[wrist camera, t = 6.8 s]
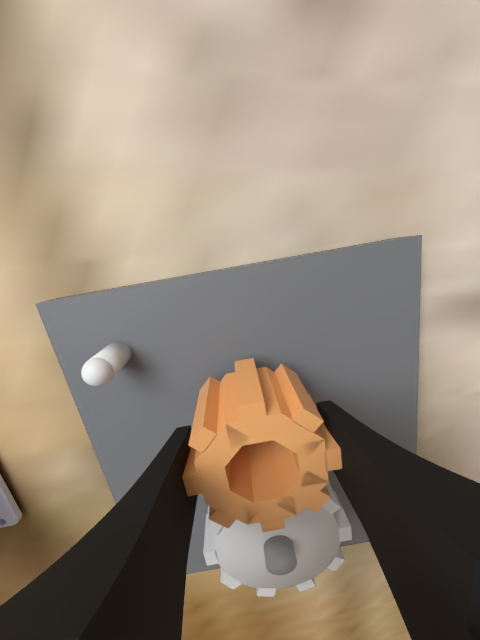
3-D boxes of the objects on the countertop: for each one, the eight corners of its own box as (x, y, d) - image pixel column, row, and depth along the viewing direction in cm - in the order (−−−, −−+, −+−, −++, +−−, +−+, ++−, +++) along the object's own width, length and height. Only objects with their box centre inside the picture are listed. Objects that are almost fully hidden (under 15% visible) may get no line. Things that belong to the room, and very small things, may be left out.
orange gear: (208, 467, 13) (201, 543, 9) (183, 370, 11) (164, 419, 8) (315, 448, 13) (346, 517, 9) (304, 348, 11) (336, 388, 8)
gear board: (153, 554, 18) (130, 646, 13) (57, 298, 13) (-26, 319, 8) (398, 510, 18) (451, 589, 14) (399, 237, 13) (483, 229, 9)
